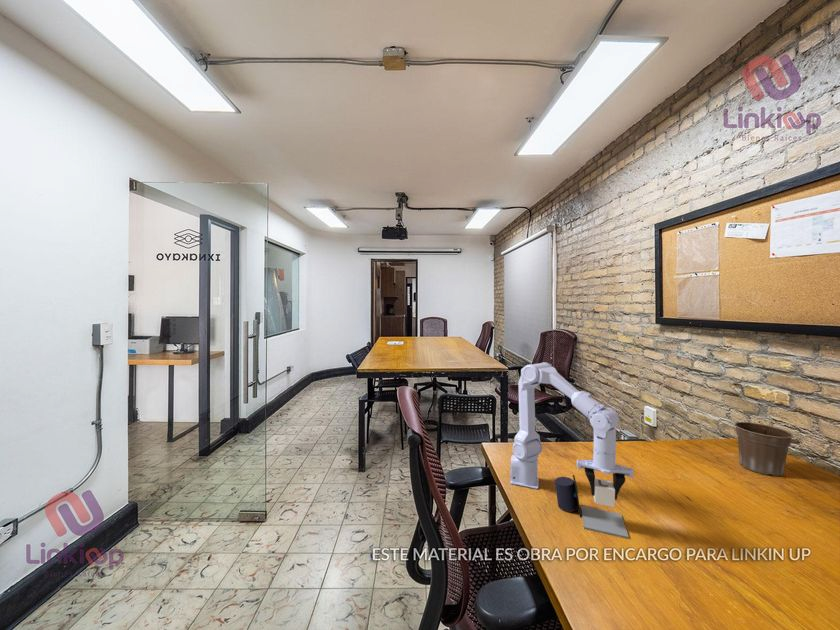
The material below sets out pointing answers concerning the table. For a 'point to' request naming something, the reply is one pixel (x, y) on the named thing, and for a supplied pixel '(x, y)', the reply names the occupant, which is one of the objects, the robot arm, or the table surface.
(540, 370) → the robot arm
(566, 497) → the speaker
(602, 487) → the letter cube
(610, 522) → the pad
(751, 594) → the table surface
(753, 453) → the plant pot
